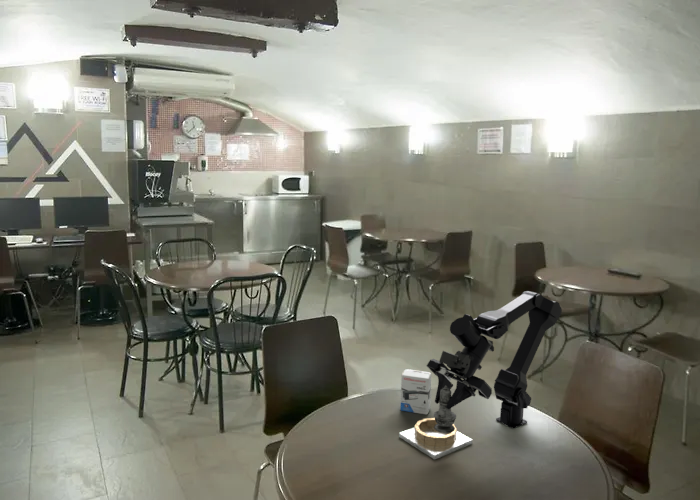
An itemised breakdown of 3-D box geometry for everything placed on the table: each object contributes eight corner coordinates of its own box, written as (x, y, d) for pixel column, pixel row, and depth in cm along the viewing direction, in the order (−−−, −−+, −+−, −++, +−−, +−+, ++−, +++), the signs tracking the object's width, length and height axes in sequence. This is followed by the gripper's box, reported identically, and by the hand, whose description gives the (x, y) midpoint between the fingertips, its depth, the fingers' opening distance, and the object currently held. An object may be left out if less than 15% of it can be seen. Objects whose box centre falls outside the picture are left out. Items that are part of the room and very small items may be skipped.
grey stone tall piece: (451, 436, 140) (452, 391, 138) (429, 430, 143) (430, 386, 141) (459, 426, 145) (460, 383, 143) (438, 420, 148) (439, 378, 146)
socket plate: (435, 423, 160) (436, 411, 160) (472, 443, 149) (472, 431, 148) (398, 436, 152) (399, 424, 152) (434, 459, 141) (434, 446, 140)
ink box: (399, 411, 168) (400, 374, 166) (403, 404, 172) (404, 368, 170) (427, 415, 165) (428, 378, 163) (430, 408, 170) (431, 371, 168)
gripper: (432, 330, 149) (401, 378, 145) (486, 349, 135) (453, 404, 130) (451, 351, 155) (422, 398, 151) (505, 372, 141) (474, 425, 136)
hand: (441, 405), depth 142 cm, fingers closed on grey stone tall piece, 4 cm apart
